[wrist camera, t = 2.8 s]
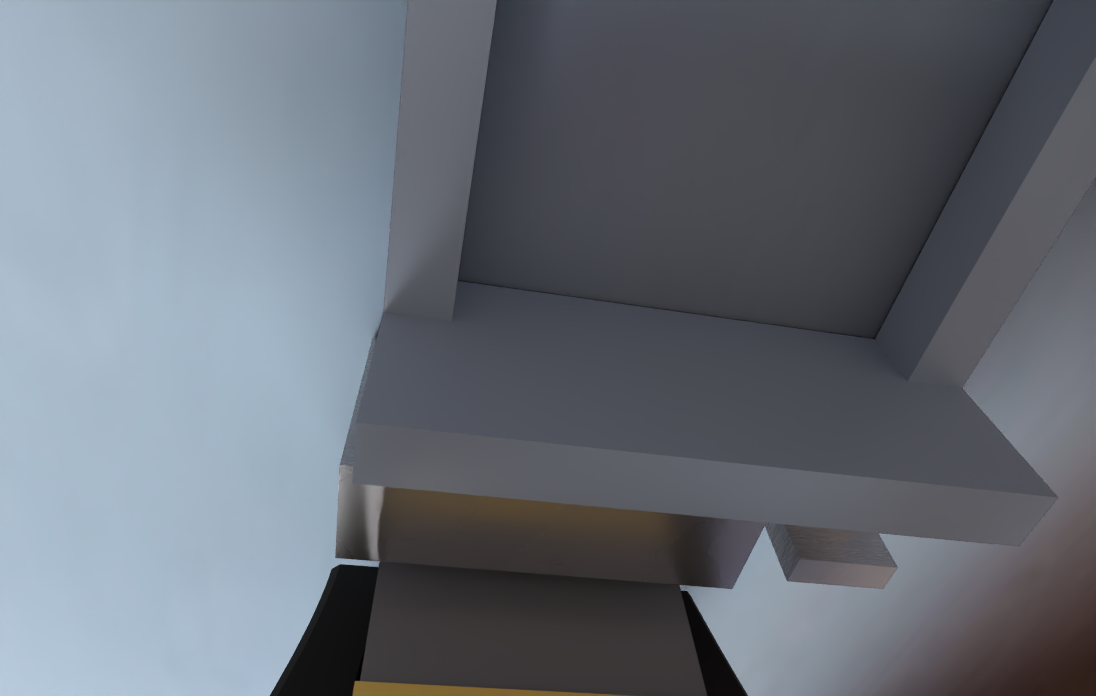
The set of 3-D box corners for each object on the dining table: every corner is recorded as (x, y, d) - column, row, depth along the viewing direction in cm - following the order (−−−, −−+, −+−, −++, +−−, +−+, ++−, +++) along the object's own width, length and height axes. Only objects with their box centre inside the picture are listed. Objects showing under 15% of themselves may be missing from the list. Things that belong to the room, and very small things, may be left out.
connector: (596, 628, 14) (640, 956, 10) (378, 613, 13) (324, 959, 9) (654, 471, 12) (743, 812, 7) (396, 445, 11) (334, 801, 7)
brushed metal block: (597, 686, 15) (614, 819, 13) (349, 672, 14) (323, 812, 12) (719, 381, 11) (774, 507, 9) (372, 337, 10) (340, 465, 8)
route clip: (844, 515, 12) (883, 588, 11) (757, 507, 12) (786, 581, 11) (909, 407, 11) (960, 476, 10) (812, 395, 11) (853, 464, 10)
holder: (900, 389, 11) (1018, 546, 8) (389, 324, 10) (352, 483, 7) (1267, -248, 7) (1711, -311, 4) (459, -497, 6) (427, -780, 3)
